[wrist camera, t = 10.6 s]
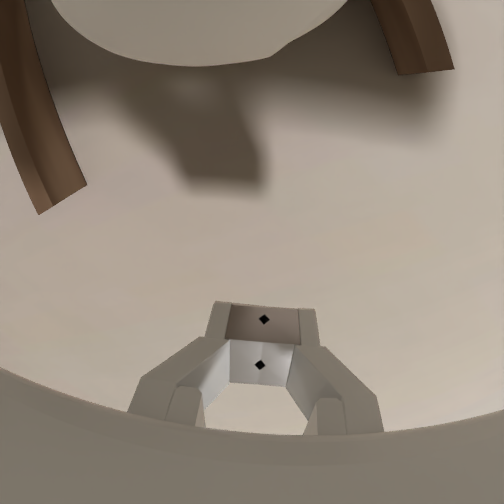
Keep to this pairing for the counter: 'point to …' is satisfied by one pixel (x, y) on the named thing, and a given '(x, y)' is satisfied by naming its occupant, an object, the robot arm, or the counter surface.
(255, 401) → the counter surface
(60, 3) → the white sculpted ball
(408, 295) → the counter surface
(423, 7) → the bay
